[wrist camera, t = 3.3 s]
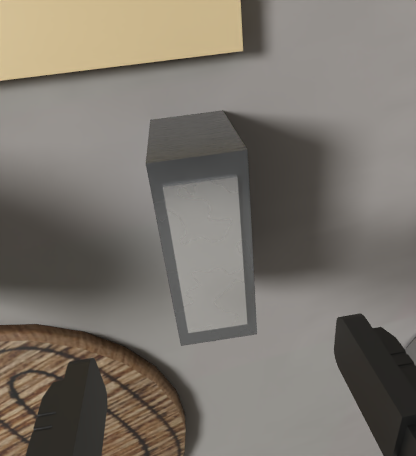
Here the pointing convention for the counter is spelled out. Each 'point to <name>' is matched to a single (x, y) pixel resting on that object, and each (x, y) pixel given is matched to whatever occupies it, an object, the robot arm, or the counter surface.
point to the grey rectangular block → (204, 224)
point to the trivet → (114, 382)
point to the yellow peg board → (111, 33)
